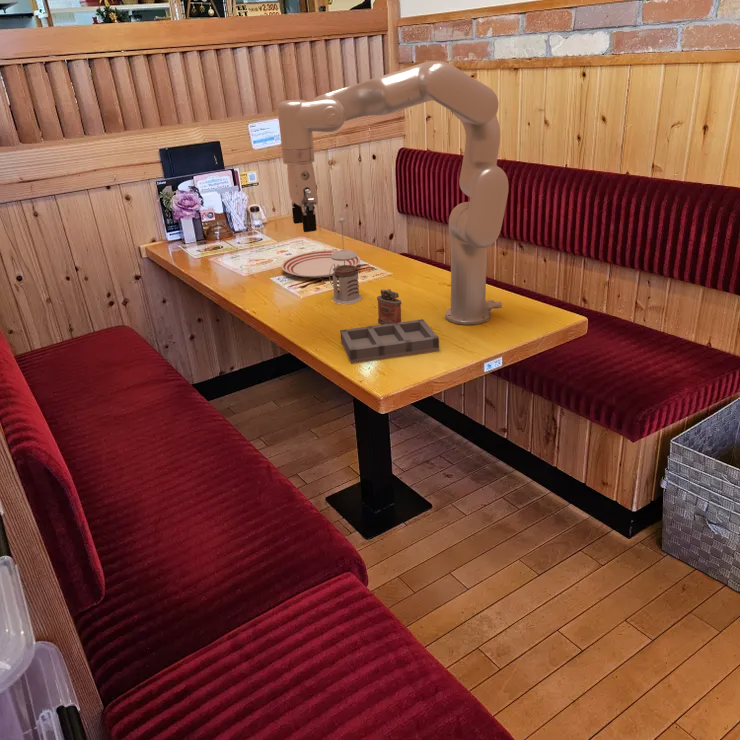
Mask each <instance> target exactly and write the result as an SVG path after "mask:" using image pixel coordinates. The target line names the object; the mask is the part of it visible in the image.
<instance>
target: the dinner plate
mask: <svg viewBox="0 0 740 740" xmlns="http://www.w3.org/2000/svg"><path fill="white" fill-rule="evenodd" d="M337 251H338V250H316V251H310V252H305V253H300V254H298V255H295V256H292V257H289V258H287V259H286V260H285V261H283V262H282V264H281V269H282V271H283V272H285V273H287V274H290V275H293V276H298V277H301V278H302V277H303V278H306V277H309V278H308V279H322V278H321V277H326V278H329V273H330V276H332V277H333V273H334V271H333V269H334V268H335V267H336V266H337V265H338V264H339V265H338V266H341V265H344V261H336V260H333V259H331V255H332V254H333V253H335V252H337ZM360 263H361V258H360V256H359V255H358V254H357V257H356V258H354V259H351V260H345V265H353V266H355V267H356V268H357V267H358V266H359V264H360ZM333 264H335V267H334V265H333ZM332 265H333V266H332ZM331 266H332V268H331ZM330 268H331V271H330Z"/></svg>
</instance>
